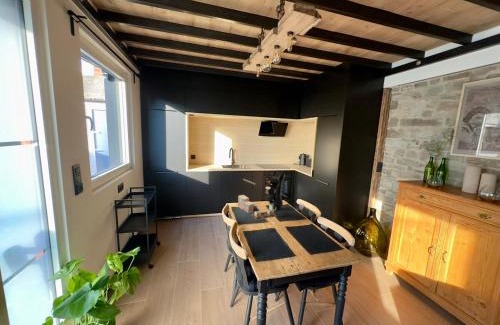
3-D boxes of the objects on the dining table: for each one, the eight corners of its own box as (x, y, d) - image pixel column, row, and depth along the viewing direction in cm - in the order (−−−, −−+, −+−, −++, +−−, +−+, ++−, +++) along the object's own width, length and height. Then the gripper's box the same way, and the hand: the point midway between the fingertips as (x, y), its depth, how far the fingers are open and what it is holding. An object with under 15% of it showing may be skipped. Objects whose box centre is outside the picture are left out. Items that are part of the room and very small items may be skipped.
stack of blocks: (253, 213, 196) (254, 201, 194) (248, 214, 193) (248, 202, 191) (242, 205, 214) (243, 194, 212) (237, 206, 211) (238, 195, 209)
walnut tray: (270, 212, 199) (270, 210, 199) (276, 217, 189) (276, 214, 189) (250, 215, 189) (251, 213, 189) (256, 220, 180) (256, 218, 179)
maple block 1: (258, 215, 189) (258, 210, 188) (260, 217, 185) (261, 212, 184) (254, 216, 187) (254, 211, 186) (256, 217, 183) (256, 213, 182)
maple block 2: (270, 213, 195) (271, 208, 194) (273, 215, 191) (273, 210, 191) (266, 213, 193) (267, 209, 192) (269, 215, 189) (269, 211, 189)
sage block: (273, 208, 186) (273, 203, 185) (276, 209, 182) (276, 205, 181) (269, 208, 184) (269, 204, 183) (271, 210, 180) (272, 205, 179)
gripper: (260, 189, 184) (259, 205, 187) (272, 196, 168) (270, 213, 171) (270, 188, 189) (269, 204, 192) (282, 194, 173) (281, 211, 176)
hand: (272, 208), depth 182 cm, fingers closed on sage block, 4 cm apart
